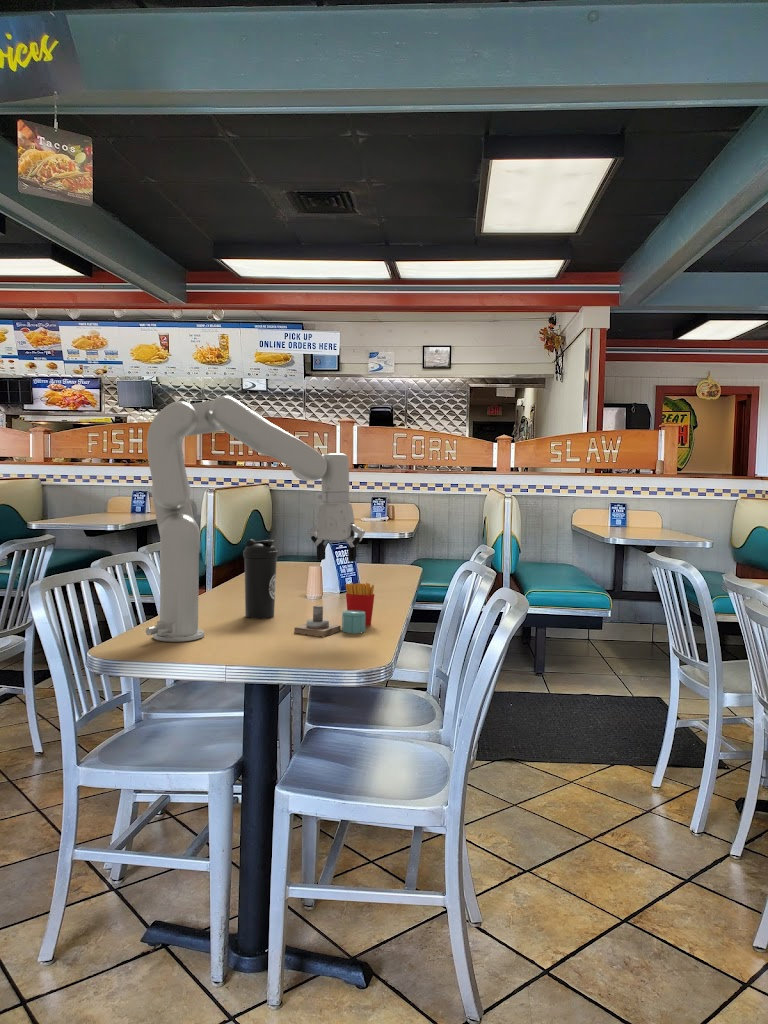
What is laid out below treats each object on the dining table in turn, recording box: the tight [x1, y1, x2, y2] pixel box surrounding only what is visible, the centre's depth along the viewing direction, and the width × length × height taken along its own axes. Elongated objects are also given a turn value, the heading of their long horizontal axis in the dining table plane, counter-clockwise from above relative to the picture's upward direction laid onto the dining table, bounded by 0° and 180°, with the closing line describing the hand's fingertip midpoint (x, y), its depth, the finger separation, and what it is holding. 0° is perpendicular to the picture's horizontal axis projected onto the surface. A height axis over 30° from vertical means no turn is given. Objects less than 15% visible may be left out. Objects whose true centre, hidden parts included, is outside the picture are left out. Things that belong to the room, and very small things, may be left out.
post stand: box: [293, 605, 342, 638], centre depth 192 cm, size 9×9×7 cm
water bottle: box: [242, 538, 279, 620], centre depth 212 cm, size 10×10×23 cm
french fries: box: [345, 582, 375, 627], centre depth 203 cm, size 8×4×12 cm, turn 81°
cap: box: [341, 609, 366, 634], centre depth 194 cm, size 6×6×5 cm
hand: (336, 560), depth 196 cm, fingers open, 9 cm apart
